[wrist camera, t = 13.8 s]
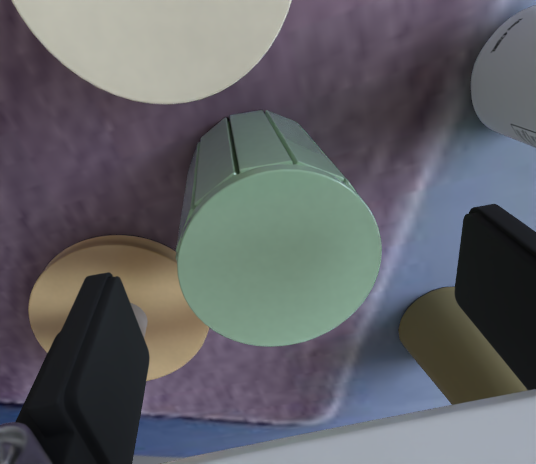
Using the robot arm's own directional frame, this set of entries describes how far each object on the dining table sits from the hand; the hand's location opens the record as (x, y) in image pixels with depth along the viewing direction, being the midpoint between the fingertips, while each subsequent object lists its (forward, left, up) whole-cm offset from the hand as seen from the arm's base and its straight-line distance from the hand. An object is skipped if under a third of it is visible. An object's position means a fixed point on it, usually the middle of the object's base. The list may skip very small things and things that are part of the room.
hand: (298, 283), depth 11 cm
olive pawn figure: (+14, +11, -12) cm, 21 cm away
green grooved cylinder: (+1, 0, -12) cm, 12 cm away
